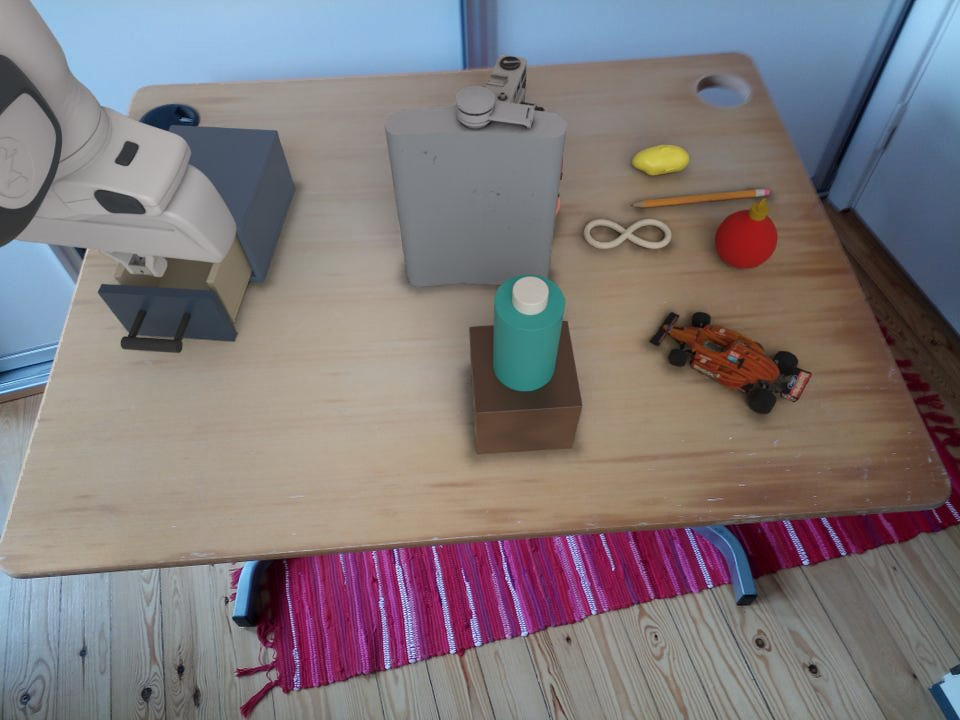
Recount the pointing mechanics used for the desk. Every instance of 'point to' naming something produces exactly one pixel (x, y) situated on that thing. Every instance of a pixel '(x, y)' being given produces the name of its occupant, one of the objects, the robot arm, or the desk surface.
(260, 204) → the cabinet
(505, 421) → the stand
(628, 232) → the decorative object
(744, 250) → the christmas ornament
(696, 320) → the toy car
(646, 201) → the pencil
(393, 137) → the flask
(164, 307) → the drawer
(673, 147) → the lemon
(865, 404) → the desk surface
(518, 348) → the detergent bottle
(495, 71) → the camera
